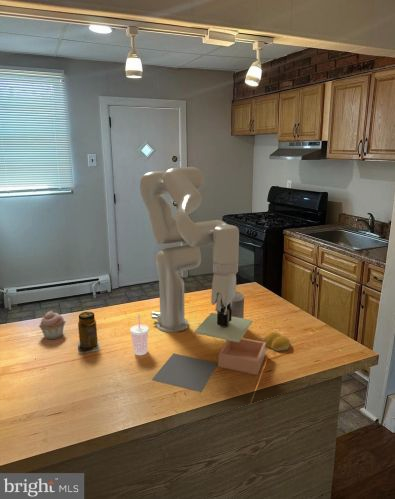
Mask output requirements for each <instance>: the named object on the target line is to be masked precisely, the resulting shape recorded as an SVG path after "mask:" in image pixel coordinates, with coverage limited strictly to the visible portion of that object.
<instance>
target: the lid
mask: <svg viewBox="0 0 395 499" xmlns="http://www.w3.org/2000/svg"><path fill="white" fill-rule="evenodd" d="M227 314H228V325H227V326H221V325H217V312H215V313H214V312H211V313H210V314H209V315H208V316H207V317H206V318H204V320H203V321H202V322H201V324H199V325H198V327H196V329H194V334H197V335H202V336H206V337H211V338H215V339H220V340H226V341H227V340H229V341H234V342H240V340H241V339H242V338H244V336H245V335H246V332H248V329H249V327H250V326H251V324H252V323H253V319H247V318H244V317H243V318H238V317H231V321H229V309H227Z"/></svg>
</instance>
